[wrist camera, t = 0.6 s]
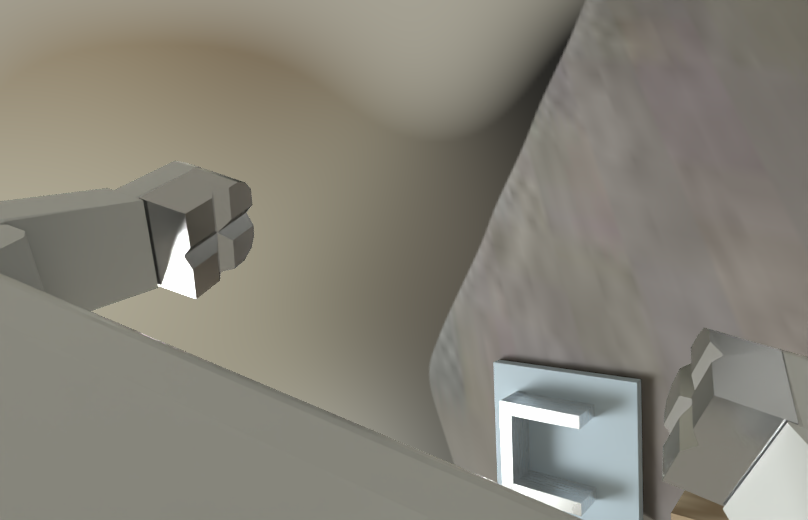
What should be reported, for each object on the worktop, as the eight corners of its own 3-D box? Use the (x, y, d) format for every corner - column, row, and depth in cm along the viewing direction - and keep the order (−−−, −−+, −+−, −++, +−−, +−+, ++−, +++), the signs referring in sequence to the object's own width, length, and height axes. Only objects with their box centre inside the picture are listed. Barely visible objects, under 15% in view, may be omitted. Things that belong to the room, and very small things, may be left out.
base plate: (643, 534, 43) (639, 540, 42) (503, 491, 50) (498, 496, 50) (641, 379, 42) (636, 382, 41) (499, 359, 50) (493, 362, 49)
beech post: (781, 458, 37) (756, 536, 28) (781, 517, 37) (756, 612, 28) (712, 445, 39) (671, 513, 31) (712, 500, 40) (672, 583, 31)
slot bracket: (596, 499, 44) (581, 516, 42) (519, 478, 48) (502, 492, 46) (594, 404, 43) (579, 416, 41) (517, 391, 48) (499, 400, 45)
